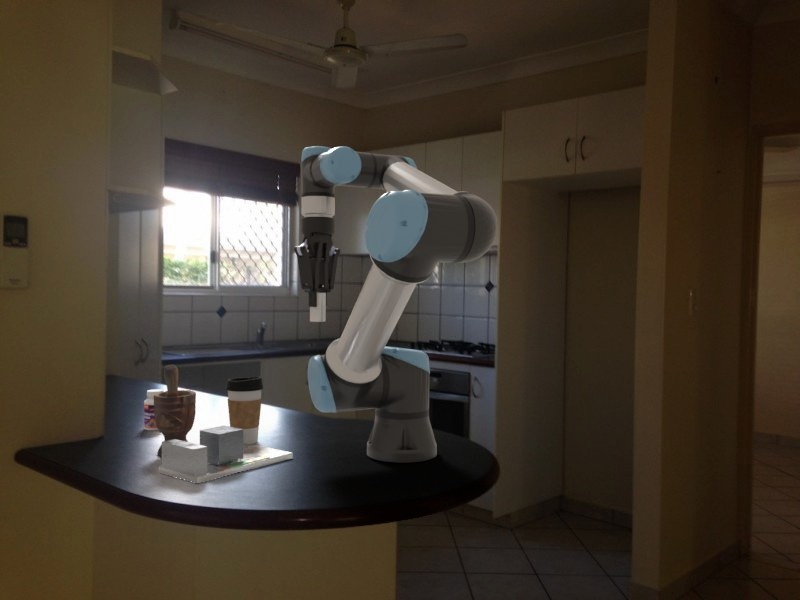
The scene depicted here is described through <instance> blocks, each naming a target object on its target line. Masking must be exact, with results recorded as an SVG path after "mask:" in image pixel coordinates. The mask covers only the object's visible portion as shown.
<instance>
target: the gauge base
mask: <svg viewBox="0 0 800 600" xmlns="http://www.w3.org/2000/svg"><path fill="white" fill-rule="evenodd" d="M161 444H162V456H161V465H160V466H158V474H160V473H161V474H162V475H164V474H165V475H164V476H167V475H169V476H168V477H171V476H173V477H172V478H174V477H177V478H176V479H178V478H181V479H185V480H188V481H192V482H195V483H199V484H201V483H200V482H203V483H205V482H204V481H207V482H209V481H208V480H210V481H213V480H212V479H214V480H216V479H215V478H218V479H220V478H219V477H222V478H224V477H223V476H225V477H228V476H227V475H229V476H231V475H230V474H233V475H235V474H234V473H236V474H238V473H237V472H240V473H242V472H241V471H244V472H247V471H246V470H248V471H251V470H255V469H258V468H262V467H265V466H269V465H273V464H277V463H281V462H284V461H287V460H291V459H293V456H294V455H293V452H291V451H286V450H281V449H278V448H277V449H276V448H274V447H273V448H272V447H267V446H263V445H258V444H256V443H254V444H249V445H246V446H243V459H242V460H240V462H235V461H234V462H230V463H226V464H222V465H216V464H213V463H209V462H207V446H203V445H200V444H198V443H193V442H189V441H188V442H185V441H181V440H177V439H173V440H168V441H164V440H163V441H161ZM250 469H251V470H250ZM181 479H180V480H181ZM185 480H184V481H185ZM188 481H187V482H188ZM192 482H191V483H192ZM195 483H194V484H195Z"/></svg>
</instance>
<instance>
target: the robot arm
mask: <svg viewBox="0 0 800 600" xmlns="http://www.w3.org/2000/svg"><path fill="white" fill-rule="evenodd" d="M417 167H418V166H417V165H416V163H415V161H414V159H412V158H410V157H406V156H402V155H399V154H396V155H392V154H391V155H390V154H382V153H381V154H379V153H370V152H364V151H363V152H362V151H355V150H354V149H353V148H351V147H349V146H346V145H345V146H344V145H343V146H335V147H333V148H332V147H328V146H322V145H321V146H320V145H316V146H315V145H314V146H307V147H304V149H302V151H301V161H300V168H301V169H300V171H301V173H300V174H301V175H300V176H301V177H300V178H301V179H300V180H301V181H300V182H301V183H300V184H301V185H300V186H301V187H300V188H301V195H300V196H301V207H300V209H301V216H303V217H302V218H301V220H300V223H301V225H300V226H301V229H300V232H301V234H302V235H303V238H302V243H301V244H300V245H296V246H294V249H293V250H294V252H295V255H296V258H297V265H298V272H299V278H300V286H301V287H300V288H301V289H302V290H304V292H305V293H308V307H309V322H311V323H320V322H321V323H322V322H326V321H327V319H326V317H327V316H326V315H327V313H326V312H327V310H326V309H327V305H328V293H329V294H330V293H331V291H332V290H334V287H335V282H336V281H335V280H336V275H337V274H336V273H337V266H338V259H339V257H340V254H341V249H340V248H336V247H335V246H334V241H333V238H332V236H333V235H334V234H335V232H336V231H335V228H336V226H335V224H336V223H335V222H336V220H335V218H334V216H335V215H336V214H335V213H336V210H335V209H336V203H335V202H336V201H335V199H336V198H335V194H336V193H335V192H336V191H335V190H336V187H339V186H341V187H352V188H363V189H364V188H366V189H378V190H383V191H385V193H383V194H382V195H380V196H379V198H378V199H377V200H376V201H375V202H374V203H373V205H372V207H371V208H370V211H369V213H368V216H367V219H366V223H365V224H366V226H367V227H366V229H365V231H364V233H365V234H364V239H365V246H366V250H367V251H368V253H369V257H370V260H371V262H372V265H371V267H370V269H369V272H368V274H367V276H366V278H365V280H364V283H363V286H362V288H361V290H360V291H359V295H358V296H357V299H356V301H355V303H354V305H353V308H352V311H351V313H350V315H349V317H348V320H347V322H346V325H345V327H344V329H343V331H342V333H341V336H340V337H339V338H337V339H335V340H333V341H332V342H330V344H328V346H327V349H326V351H325V353H324V354H322V355H320V354H317V355H313V356H311V358H310V359H309V361H308V365H307V384H308V389H309V395H310V397H311V402H312V403H313V405H314V407H315V409H317V410H318V412H321V413H333V414H337V413H342V412H343V413H344V412H351V411H352V412H355V411H362V410H363V411H365V410H371V409H374V411H375V412H374V415H375V417H374V421H373V423H372V424H373V425H372V428H371V431H370V433H369V437H368V440H367V443H366V455H367V457H369V458H370V459H373V460H375V461H376V460H377V461H381V462H387V463H406V464H407V463H420V462H425V461H429V460H432V459H435V458H436V457H437V455H438V453H437V451H438V449H437V448H438V447H437V442H436V439H435V434H434V431H433V428H432V424H431V421H430V374H431V368H430V358H429V356H428V354H427V353H426V352H424V351H422V350H417V349H410V348H403V347H397V346H386V345H387V344H388V342H389V340H390V337H391V335H392V334H393V332H394V330H395V328H396V326H397V324H398V322H399V320H400V318H401V316H402V315H403V313H404V310H405V307H406V306H407V304H408V302H409V301H410V298H411V296H412V294H413V292H414V290H415V288H416V287H417V284H422V283H424V282H426V281H428V280H429V279H430V277H431V276H432V274H433V272H434V270H435V268H436V267H437V265H439V263H442V264H443V263H444V264H451V263H452V264H457V263H458V264H465V263H469V262H472V261H475V260H477V259H479V258H481V257H483V256H484V255H485V254H486V253H487V252H489V250H490V249H492V246H493V244H494V243H495V241H496V239H497V236H498V231H499V230H498V229H499V226H498V218H497V215H496V213H495V210H494V208H493V207H492V206H491V205H490V204H489V202H487V201H486V200H484V199H483V198H481V197H479V196H478V195H475V194H474V193H472V192H469V191H467V190H465V191H463V190H462V191H461V190H460V191H457V190H455V189H453V188H451V187H450V186H448V185H446V184H444V183H443V182H441V181H439V180H437V179H435V178H433V177H432V176H430V175H428V174H426V173H425V172H424V171H421V170H419V169H418V168H417Z"/></svg>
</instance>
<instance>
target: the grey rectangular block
mask: <svg viewBox="0 0 800 600" xmlns="http://www.w3.org/2000/svg"><path fill="white" fill-rule="evenodd" d="M199 445H203V446H207V462H209V463H213V464H216V465H222V464H226V463H230V462H234V461H235V462H240V460H242V459H243V447H244V445H243V429H239V428H234V427H230V425H219V426H215V427H209V428H204V429H200V430H199Z"/></svg>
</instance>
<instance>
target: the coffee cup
mask: <svg viewBox="0 0 800 600" xmlns="http://www.w3.org/2000/svg"><path fill="white" fill-rule="evenodd" d="M225 390H226V391H227V407H228V417H229V427H234V428H239V429H243V446H245V445H246V446H249V445H254V444H257V443H258V441H259V428H260V427H259V426H260V417H261V409H262V399H263V398H262V390H264V384H263V379H262V377H261V376H249V377H248V376H247V377H246V376H245V377H235V378H234V377H231V378H228V379H227V381H226V385H225Z"/></svg>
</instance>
